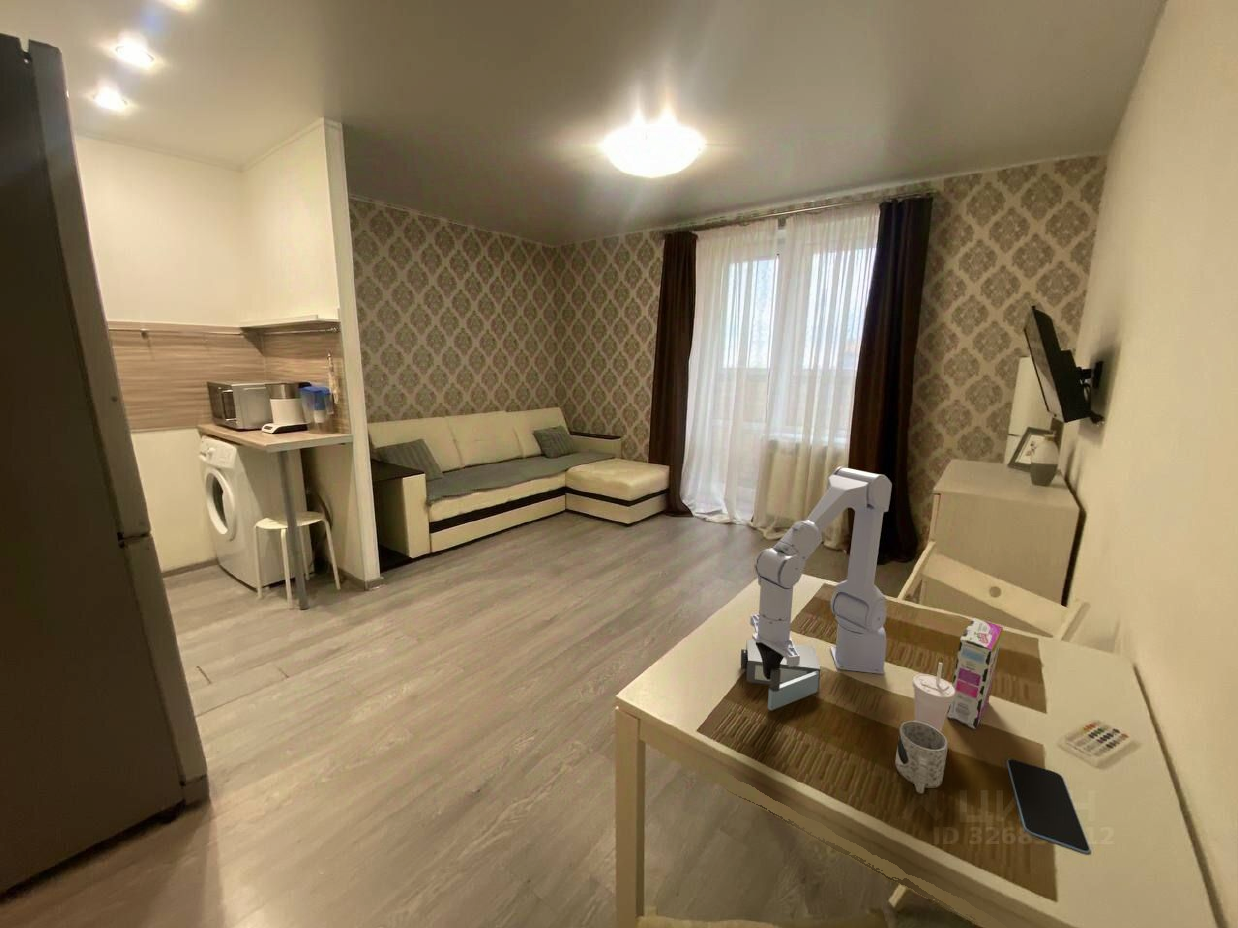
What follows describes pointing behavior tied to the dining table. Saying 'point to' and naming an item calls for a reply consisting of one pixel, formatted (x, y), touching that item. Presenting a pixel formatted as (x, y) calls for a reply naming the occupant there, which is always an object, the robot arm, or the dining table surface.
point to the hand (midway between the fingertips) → (770, 677)
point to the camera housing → (754, 664)
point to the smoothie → (932, 698)
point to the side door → (790, 688)
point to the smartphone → (1046, 805)
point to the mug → (921, 754)
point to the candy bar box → (974, 672)
